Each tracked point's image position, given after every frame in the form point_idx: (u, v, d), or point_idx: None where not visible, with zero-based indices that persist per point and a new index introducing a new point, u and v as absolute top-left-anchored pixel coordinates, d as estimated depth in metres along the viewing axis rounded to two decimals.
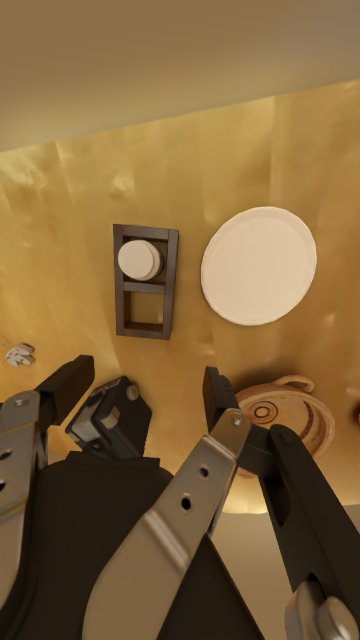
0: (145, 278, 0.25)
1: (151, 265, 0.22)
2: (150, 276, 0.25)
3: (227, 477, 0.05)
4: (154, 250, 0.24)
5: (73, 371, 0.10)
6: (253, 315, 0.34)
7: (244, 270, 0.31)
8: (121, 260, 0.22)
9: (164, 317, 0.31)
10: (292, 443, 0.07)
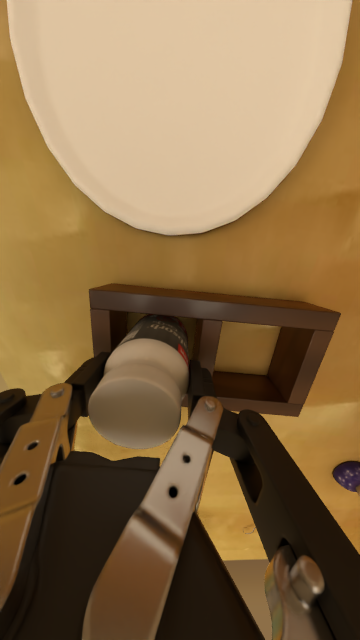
0: (184, 375, 0.10)
1: (144, 382, 0.08)
2: (179, 364, 0.10)
3: (207, 458, 0.05)
4: (119, 353, 0.10)
5: (98, 366, 0.10)
6: (308, 44, 0.11)
7: (172, 106, 0.12)
8: (137, 443, 0.09)
9: (278, 323, 0.13)
10: (257, 425, 0.07)
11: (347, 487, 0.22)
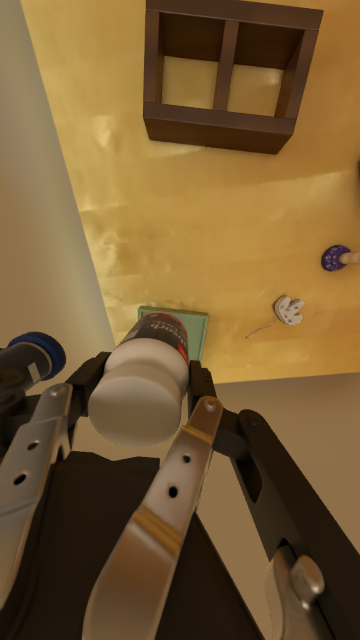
0: (184, 375, 0.10)
1: (144, 382, 0.08)
2: (179, 364, 0.10)
3: (207, 458, 0.05)
4: (119, 352, 0.10)
5: (98, 366, 0.10)
6: None
7: None
8: (137, 443, 0.09)
9: (278, 22, 0.18)
10: (257, 425, 0.07)
11: (332, 261, 0.28)
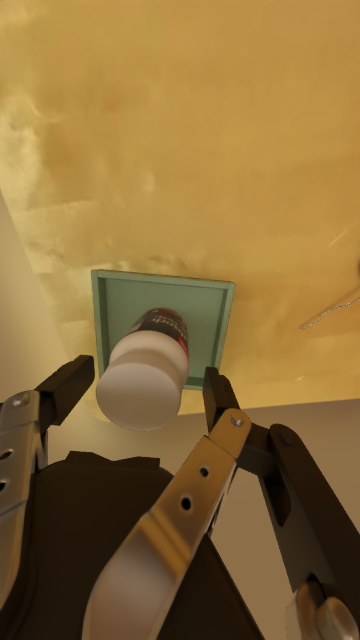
0: (184, 365, 0.11)
1: (147, 367, 0.08)
2: (179, 354, 0.11)
3: (227, 477, 0.05)
4: (123, 343, 0.11)
5: (73, 371, 0.10)
6: None
7: None
8: (141, 426, 0.10)
9: None
10: (292, 443, 0.07)
11: None
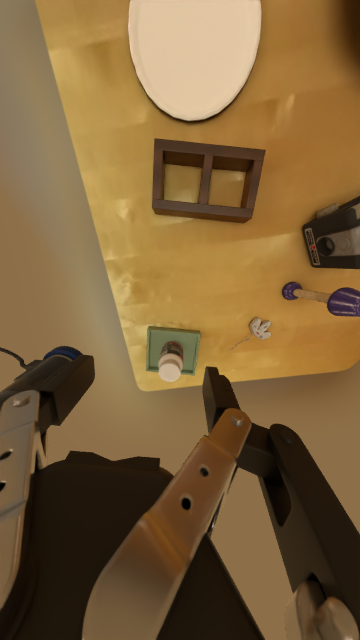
0: (181, 363, 0.37)
1: (172, 364, 0.34)
2: (180, 360, 0.37)
3: (227, 477, 0.05)
4: (163, 357, 0.37)
5: (73, 371, 0.10)
6: (247, 30, 0.26)
7: (191, 57, 0.27)
8: (169, 380, 0.36)
9: (238, 156, 0.29)
10: (292, 443, 0.07)
11: (288, 294, 0.38)
